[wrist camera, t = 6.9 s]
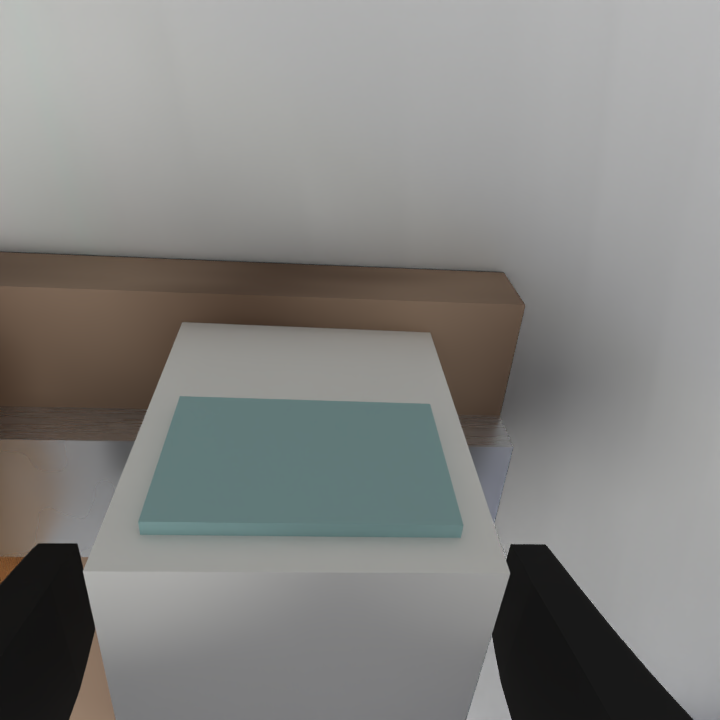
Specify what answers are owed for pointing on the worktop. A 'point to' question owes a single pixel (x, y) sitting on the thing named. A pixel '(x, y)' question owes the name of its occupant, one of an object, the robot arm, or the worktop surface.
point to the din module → (297, 535)
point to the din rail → (105, 466)
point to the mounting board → (226, 306)
